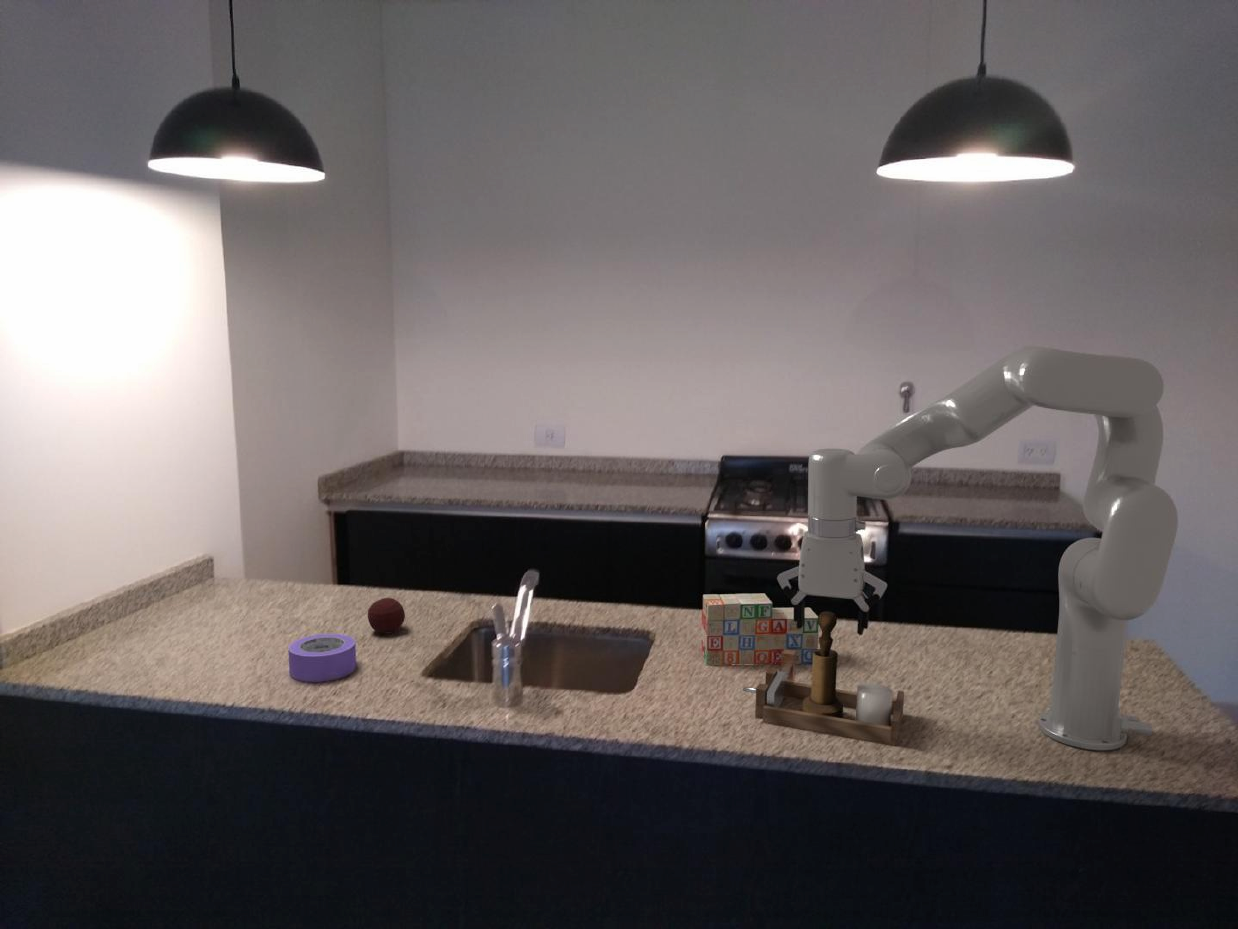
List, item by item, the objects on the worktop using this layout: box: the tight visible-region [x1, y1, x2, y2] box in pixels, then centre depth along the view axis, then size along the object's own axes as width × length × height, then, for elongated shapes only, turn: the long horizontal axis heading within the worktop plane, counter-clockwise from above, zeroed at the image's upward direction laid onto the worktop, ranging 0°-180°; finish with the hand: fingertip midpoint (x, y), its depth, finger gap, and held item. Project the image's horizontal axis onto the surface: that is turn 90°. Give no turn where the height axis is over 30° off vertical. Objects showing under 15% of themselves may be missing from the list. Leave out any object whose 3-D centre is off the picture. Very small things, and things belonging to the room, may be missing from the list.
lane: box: [754, 667, 905, 747], centre depth 148 cm, size 22×12×5 cm, turn 68°
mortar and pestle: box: [801, 611, 844, 719], centre depth 147 cm, size 7×6×18 cm
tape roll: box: [287, 633, 357, 683], centre depth 166 cm, size 12×12×5 cm
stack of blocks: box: [701, 593, 820, 666], centre depth 172 cm, size 21×6×12 cm, turn 93°
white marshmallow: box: [855, 682, 894, 727], centre depth 145 cm, size 6×6×6 cm
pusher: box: [742, 649, 796, 708], centre depth 155 cm, size 7×16×6 cm, turn 158°
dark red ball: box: [367, 597, 406, 634], centre depth 185 cm, size 7×8×7 cm
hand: (830, 629), depth 146 cm, fingers open, 9 cm apart
